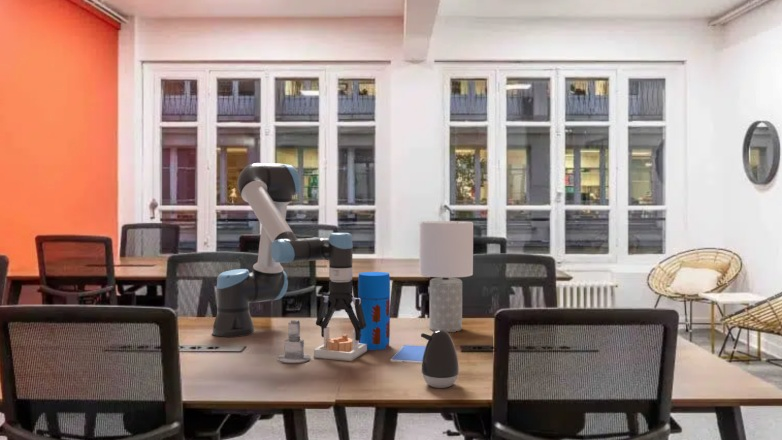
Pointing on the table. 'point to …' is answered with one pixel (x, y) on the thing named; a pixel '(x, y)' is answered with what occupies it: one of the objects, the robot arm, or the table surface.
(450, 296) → the lamp
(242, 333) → the robot arm
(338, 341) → the ring
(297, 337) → the grey stepped cylinder
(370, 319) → the thermos
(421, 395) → the table surface
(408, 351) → the tablet computer
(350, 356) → the tray
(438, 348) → the pump dispenser
